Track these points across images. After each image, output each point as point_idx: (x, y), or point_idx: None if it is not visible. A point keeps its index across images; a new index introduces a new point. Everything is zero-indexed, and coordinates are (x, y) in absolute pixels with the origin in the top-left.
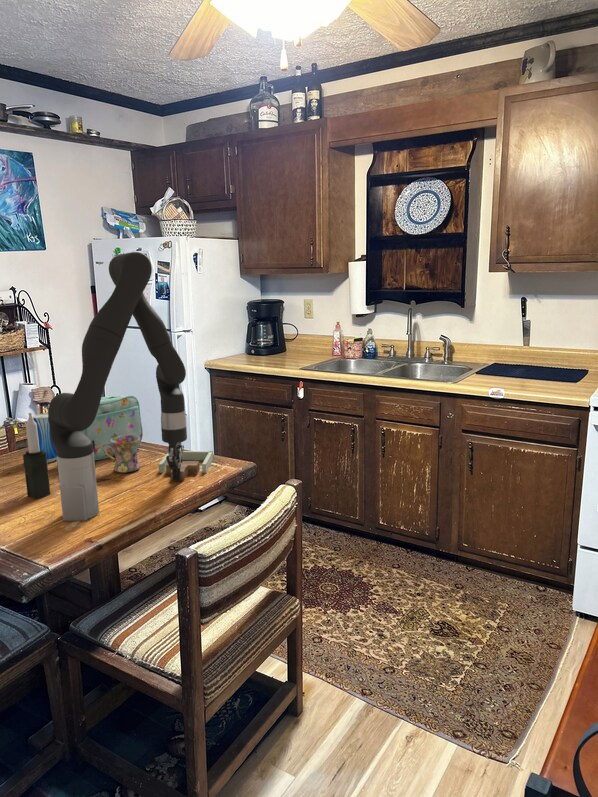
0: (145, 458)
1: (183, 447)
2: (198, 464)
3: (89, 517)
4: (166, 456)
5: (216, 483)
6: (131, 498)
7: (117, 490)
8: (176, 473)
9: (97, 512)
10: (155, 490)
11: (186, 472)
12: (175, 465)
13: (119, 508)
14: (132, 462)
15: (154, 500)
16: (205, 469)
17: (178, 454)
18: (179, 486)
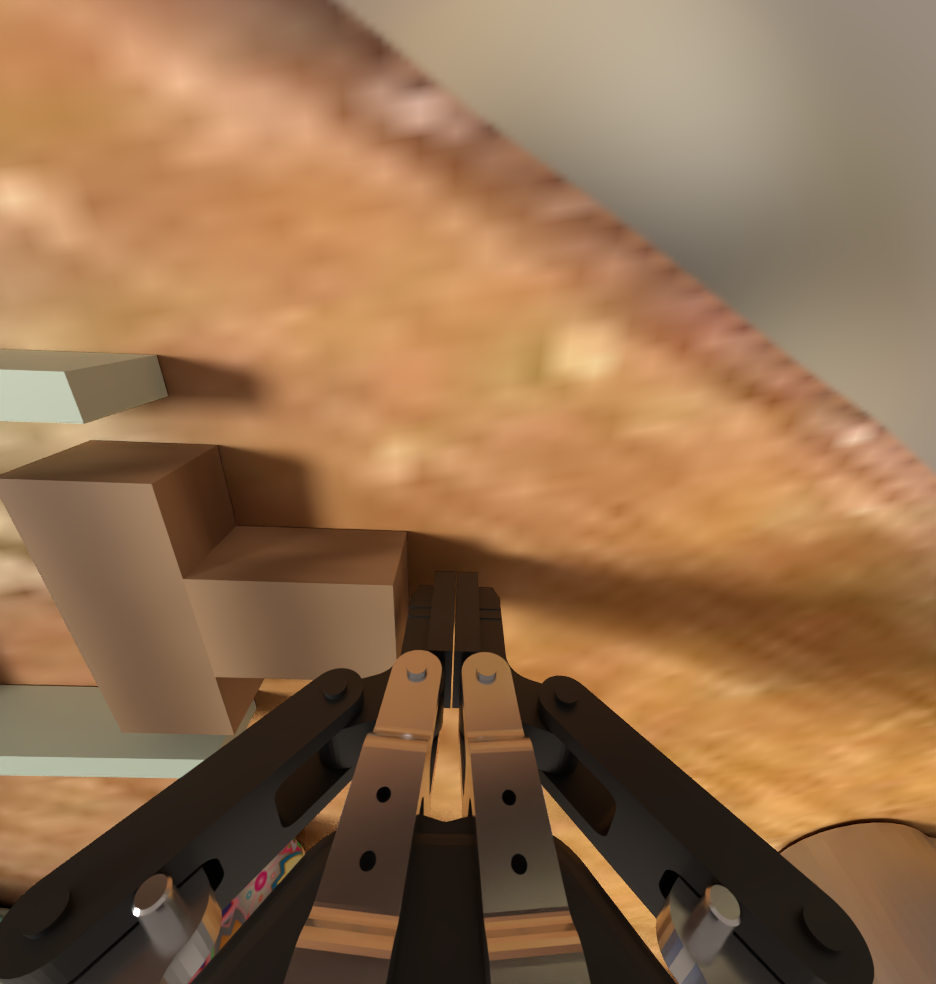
0: (4, 809)
1: (67, 906)
2: (65, 470)
3: (927, 838)
4: (2, 765)
5: (495, 160)
6: (709, 750)
7: (564, 816)
8: (501, 637)
9: (891, 830)
10: (602, 670)
11: (278, 547)
12: (641, 747)
13: (843, 766)
14: (238, 894)
15: (795, 644)
16: (128, 367)
17: (563, 908)
18: (545, 541)
